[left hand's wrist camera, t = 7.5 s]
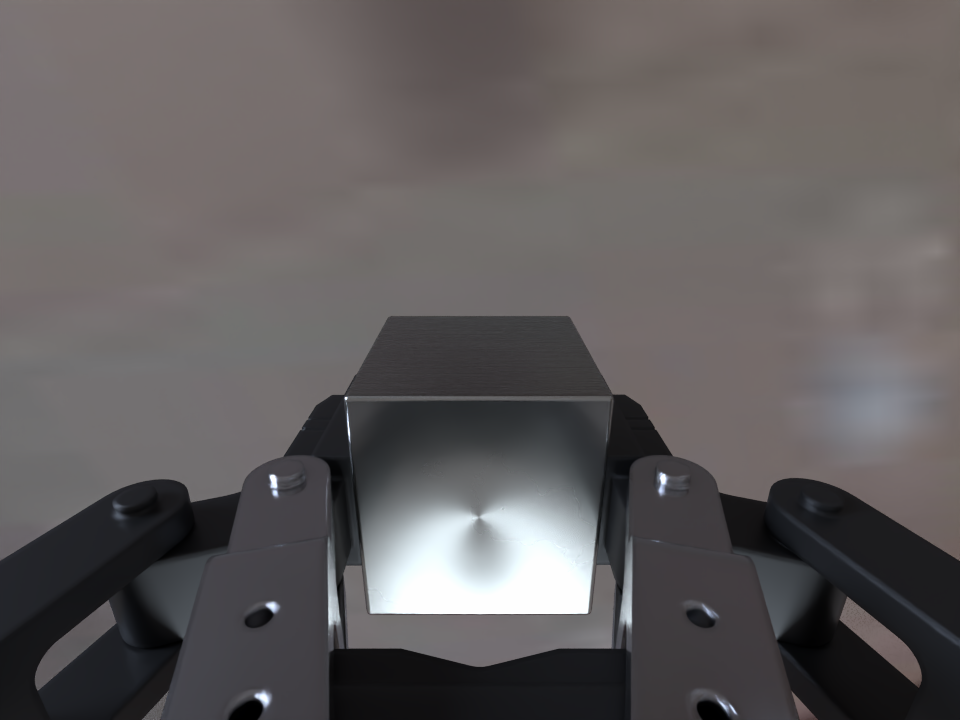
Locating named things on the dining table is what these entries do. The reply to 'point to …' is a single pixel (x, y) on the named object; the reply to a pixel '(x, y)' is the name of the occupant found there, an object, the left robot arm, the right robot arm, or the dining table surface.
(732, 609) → the left robot arm
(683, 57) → the dining table surface
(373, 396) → the block
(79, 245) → the dining table surface
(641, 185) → the dining table surface
